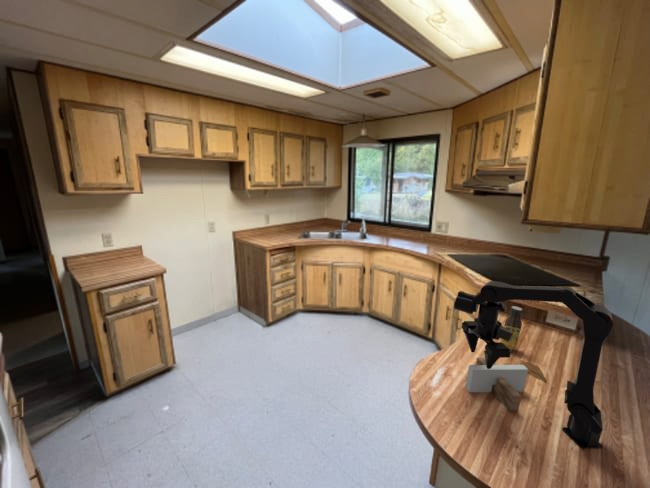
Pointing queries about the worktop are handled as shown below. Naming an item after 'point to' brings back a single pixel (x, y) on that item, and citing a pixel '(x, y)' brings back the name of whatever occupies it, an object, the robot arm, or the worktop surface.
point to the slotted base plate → (504, 391)
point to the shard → (533, 369)
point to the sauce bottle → (513, 328)
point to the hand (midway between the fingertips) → (480, 359)
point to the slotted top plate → (495, 377)
